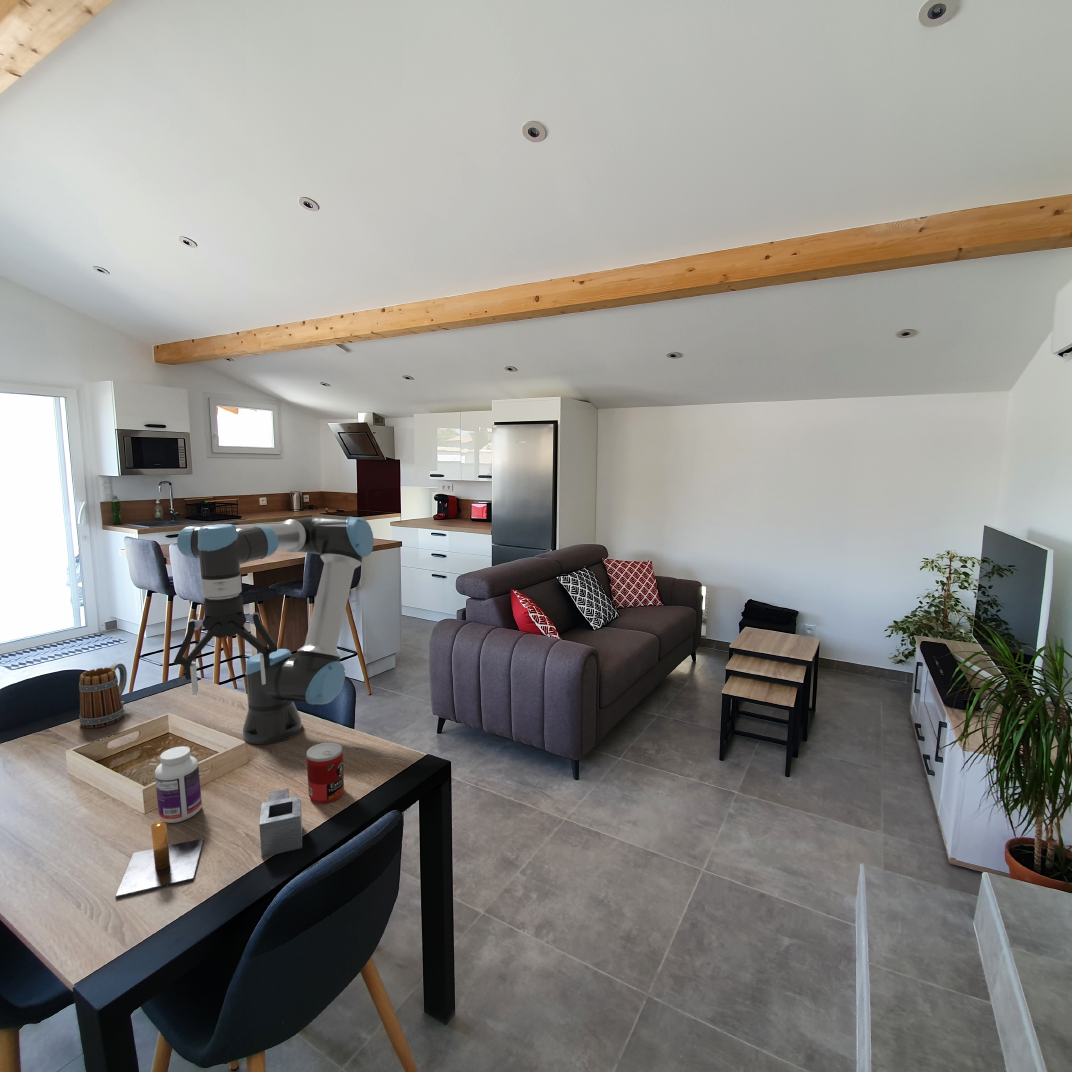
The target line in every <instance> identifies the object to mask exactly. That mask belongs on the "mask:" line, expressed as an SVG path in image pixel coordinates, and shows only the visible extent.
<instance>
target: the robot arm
mask: <svg viewBox="0 0 1072 1072" xmlns="http://www.w3.org/2000/svg"><path fill="white" fill-rule="evenodd" d="M176 539H177V540H176V543H177V549H178V551H179V552H180V553H181V554H182V555H183V556H185V557H190V558H195V559H198V558H199V566H200V575H201V578H200V579H201V580H200V581H201V589H202V596H203V597H204V598H203V600H202V603H203V611H204V612H203V613H204V618H203V619H196V618H190V619H189V621H188V624H187V633H186V635H185V637H184V639H183V641H182V643H181V645H180V647H179V649H178V652H177V654H176V656H175V658H174V660H173V664H174V665H175V666H177V665H181V666H183V669H184V678H185V679H186V681H187V680H188V681H189V680H190V681H191V689H192V696H195V695H197V694H198V691H199V684H198V673H197V663H196V661H195V659H196V658H197V656H199V654H200V653H201V652H202V650H203V649H204V648H205V646H207V644H208V643H209V642H210V641H211V640H212V639H213V637H215V638H217V639H223V638H226V637H229V638H231V637H234V636H236V635H238V637H240V638H242V639H244V640H245V641H246V642H247V643H249V644H250V645H251V646H252V647H253V648H255V649H256V650H257V651H258V652H259V653H256V654H255V655H252V656H251V657H249V658H248V659H247V661H246V663H245V681H246V682H245V684H246V685H245V686H246V696H247V708H248V709H247V713H246V717H245V719H244V722H243V723H244V724H243V727H242V735H243V736H242V737H243V740H244V741H245V742H247V743H249V744H254V745H267V744H268V745H269V744H275V743H279V742H282V741H285V740H288V739H290V738H292V737H294V736H296V735H297V734H298V733H299V732H300V731H301V729H302V718H301V715H300V714H299V712H298V709H297V707H296V704H295V702H296V703H304V704H309V705H327V704H328V703H331V702H332V701H333V700H334V699H336V698H337V697H338V695H339V694H340V692H341V690H342V688H343V686H344V683H345V680H346V679H345V678H346V672H345V670H346V669H345V666H344V664H343V663H342V662H340V660H341V655H340V653H339V652H338V650H337V649H338V643H339V640H340V636H341V635H340V634H341V631H342V630H341V629H342V626H343V621H344V617H345V613H346V608H347V603H348V599H349V596H350V591H351V586H352V581H353V577H354V572H355V570H356V569H357V568H359V567H360V566H361V565H362V561H363V558H366V557H368V556H370V554H372V552H373V549H374V534H373V530H372V528H371V525H370V523H369V522H368V521H367V520H366V519H365V518H363V517H362V518H361V517H353V516H326V515H325V516H324V515H318V516H316V515H315V516H309V517H302V518H294V519H293V518H291V519H285V520H284V521H283V522H278V523H277V522H276V523H257V524H255V523H253V524H231V523H229V524H228V523H219V524H208V525H204V526H202V525H192V526H191V525H190V526H185V527H184V528H182V529H181V530H180V531H179V533H178V536H177V538H176ZM277 551H286V552H289V553H309V554H314V555H315V554H316V555H320V559H321V561H322V562H323V563H324V564H323V567H322V572H321V575H320V576H321V577H320V580H319V584H318V588H317V592H316V597H315V600H314V604H313V610H312V614H311V616H310V622H309V626H308V630H307V633H306V638H305V640H304V641H305V643H304V645H303V646H302V647H300V648H298V649H297V651H296V655H295V657H293V656H292V652H291V651H290V649H287V648H278V644H277V643H276V641H275V639H274V638H273V637H272V635H271V634H270V633H269V631H268V630H267V628H266V627H265V625H264V624H263V623H262V621H261V617H260V613H259V611H254V612H253V613H251V614H247V615H246V614H245V613H244V603H243V595H242V594H241V592H242V591H243V589H242V579H241V578H242V576H241V566H240V565H241V564H244V563H250V562H253V561H257V560H263V559H265V558H267V557H270V556H272V555H274V554H275V553H276V552H277ZM247 621H248V622H249V623H250V624H252V625H254V626H255V629H256V630H257V632H258V633H259V634H260V636H261V637H262V639H263V640H264V642H265V643H266V645H265V644H264V643H263V642H262V641H261V640H260V639H258V638H257V637H256V636H254V635H253V634H252V633H251V632H250V631H249V630H248V629H247V628H246V627H245V626H244V625H245V624H246V622H247ZM201 626H203V628H204V629H206V630H207V632H206V633H205V634H204V636H203V637H202V639H201V640H199V642H198V643H197V644H196V646H194V648H193V649H192V650H191V651H190V652H189V653H188V655H187V657H184V656H185V654H186V651H187V649H188V647H189V645H190V642H191V640H192V638H193V636H194V635H195V631H198V630H199V629H200V627H201Z"/></svg>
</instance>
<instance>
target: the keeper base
mask: <svg viewBox="0 0 1072 1072" xmlns="http://www.w3.org/2000/svg"><path fill="white" fill-rule="evenodd" d="M150 829H151V841H152V848H151V849H145V850H141V851H136V852H133V854H132V856H131V858H130V860H129V863H128V865H127V868H126V870H125V872H124V874H123V877H122V880H121V882H120V884H119V887H118V889H117V892H116V894H115V900H119V899H122V898H127V897H130V896H135V895H139V894H143V893H147V892H151V891H155V890H160V889H165V888H168V887H172V886H173V887H174V886H177V885H181V884H185V883H186V884H187V883H190V882H193V881H194V880H195V877H196V872H197V869H198V865H199V861H200V856H201V852H202V848H203V845H204V837H203V838H198V839H194V840H188V841H184V842H179V843H172V844H169V838H168V837H169V836H168V827H167V822H166V821H162V820H158V821H155V822H154V823H152V824H151V826H150Z"/></svg>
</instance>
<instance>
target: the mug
mask: <svg viewBox="0 0 1072 1072" xmlns="http://www.w3.org/2000/svg"><path fill="white" fill-rule="evenodd" d="M117 669H118V671H119V679H118V676H117V673H116V672H117V671H116V670H117ZM127 678H128V672H127V668H126V666H125V664H123V663H118V662H117V663H113V664H111V665H110V666H109V667H107V666H106V667H104V668H103V667H98V668H96V669H95V668H94V669H89V670H88V671H86V670H85V671H84V672H82V673H81V674H80V676H79V682H78V690H79V703H80V704H79V712H80V713H79V723H80V726H81V727H83V728H86V729H97V728H99V729H100V728H103V727H108V726H111V725H113V724H115V723H117V722H119V721H121V720H122V719H123V717H124V716H125V710H124V705H125V701H124V700H122V699H121V697H122V695H123V693H124V691H125V688H126V685H127V682H128V681H127V680H128V679H127ZM118 680H119V681H118Z"/></svg>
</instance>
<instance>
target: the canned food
mask: <svg viewBox="0 0 1072 1072" xmlns="http://www.w3.org/2000/svg"><path fill="white" fill-rule="evenodd" d="M343 752H344V751H343V747H342V745H341V744H339V743H336V742H328V741H327V742H322V743H318V744H317V743H316V744H314V745H313V746H310V748H308V749H307V751H306V755H305V756H306V771H307V773H306V774H307V787H308V790H307V791H308V797H309V799H310V800H311V802H314V803H316V804H329V803H332V802H334V801H337V800H338V799H340V798H342V796H343V794H344V791H345V779H344V778H345V777H344V754H343Z"/></svg>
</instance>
